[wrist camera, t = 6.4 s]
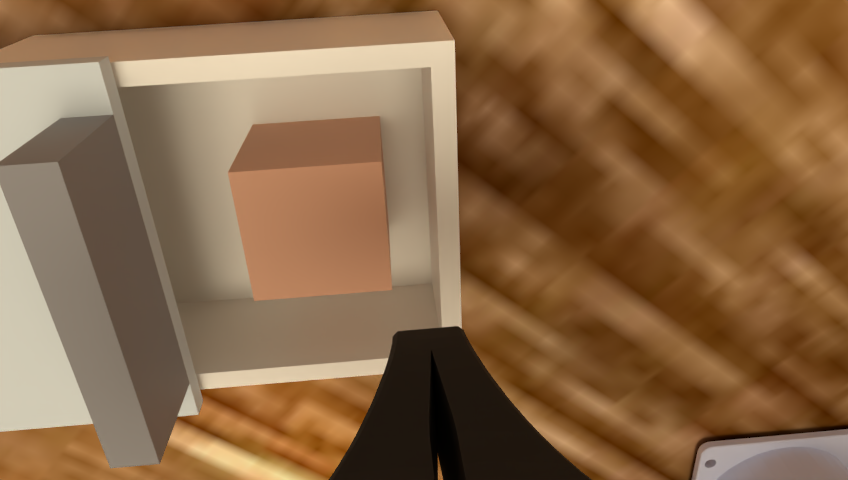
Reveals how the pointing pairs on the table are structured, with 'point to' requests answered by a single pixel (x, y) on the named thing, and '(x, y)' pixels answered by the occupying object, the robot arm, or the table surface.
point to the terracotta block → (313, 208)
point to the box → (276, 103)
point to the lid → (83, 269)
